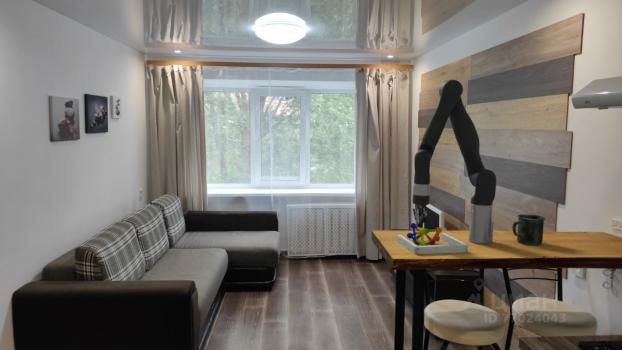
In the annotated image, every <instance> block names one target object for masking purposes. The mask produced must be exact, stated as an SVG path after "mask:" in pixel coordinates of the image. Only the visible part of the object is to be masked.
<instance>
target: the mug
mask: <svg viewBox="0 0 622 350" xmlns="http://www.w3.org/2000/svg"><path fill="white" fill-rule="evenodd" d="M517 218H518V220H517V221H514V223H513V224H512V227H511V228H512V233H513V234H514V236H516V239H517V243H519V244H522V245H528V246H540V244H541V245H542V244H543V240H544V239H543V238H544V224H545V223H544V222H545V220H546V217H545V216H542V215H536V214H527V213H525V214H523V213H522V214H518V215H517Z"/></svg>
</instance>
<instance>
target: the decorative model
mask: <svg viewBox="0 0 622 350" xmlns="http://www.w3.org/2000/svg"><path fill="white" fill-rule="evenodd" d="M410 228H411V229H412V232H407V233H406V237H407V238H408V240H409V239H410V240H411V239H412V243H414V244H416V243H418V244H419V245H418V246H426V244H430V245H436V242H439V241H440V240H441V236H440V234H442V233H443V232H442V231H443V229H442V227H440V226H439V227H436V228H434V229H428V228H427V227H425V228H424V227H423V228H420V227H418V226H417V223H415V222H412V223H410ZM417 229H418V230H419V231H417ZM431 232H432V233H433V232H435V233H434V236H433V238H432V237H430V236H429V235H428V234H429V233H431ZM424 237H426V238H427V240H426V241H424V240H425V239H424Z"/></svg>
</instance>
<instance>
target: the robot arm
mask: <svg viewBox="0 0 622 350" xmlns="http://www.w3.org/2000/svg"><path fill="white" fill-rule="evenodd" d="M438 93H439V97H440V98H439V102H438V104H437V107H436V110H435V111H434V114H433V115H432V117H431V118H430V120H429V122H428V125H427V127H426V128H425V131H424V134H423V136H422V140H421V143H420V145H419V148H418V150H417V152H416V153H415V154H414V160H413V163H414V165H413V166H414V175H413V179H414V180H413V187H412V204H414V206H415V208H412V213H413V216H414V221H416V226H418V227H420V228H424V224H425V223H426V222H427V221H428V218H429V216H430V213H428V212H427V206H428V205H430V203H431V202H430V200H431V198H430V197H431V173H430V170H431V169H430V167H431V161H432V158H433V156H434V152H435V150H436V146H437V145H438V144H439V141H440V139H441V136H442V134H443V132H444V129H445V126H446V124H447V123H448V119H449V122H450V125H451V128H452V132H453V134H454V135H453V136H454V138H455V140H456V143H457V146H458V147H459V150H460V153H461V155H462V157H463V161H464V163H465V167H466V171H467V176H468V180H469V182H470V184H471V185H472V186H473V187H474V189H475V190H474V195H473V196H472V197H470V209H469V211H470V213H469V229H468V231H469V232H468V241H469V242H471V243H474V244H480V245H481V244H482V245H485V244H487V245H488V244H491V243H493V240H494V239H493V238H494V221H493V207H494V205H493V204H494V201H495V197H496V190H497V176H496V174H495V172H494V171H493V170H491V169H487V168H485V165H484V164H483V161H482V158H481V153H480V147H481V146H480V145H481V144H480V137H479V134H478V131H477V128H476V126H475V124H474V122H473V120H472V118H471V116H470V115H469V113H468V112H467V110H466V108H465V106H464V103H463V99H462V95H463V93H464V87H463V85H462V83H461V82H460V81H459V80H457V79H447V80H445V81H443V82H442V83H441V84H440V85H439V88H438ZM417 231H419V230H418V229H416V232H417Z"/></svg>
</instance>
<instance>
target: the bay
mask: <svg viewBox="0 0 622 350" xmlns="http://www.w3.org/2000/svg"><path fill="white" fill-rule="evenodd" d="M396 241H397V243H398V244H400V245H402V246H403V247H404V248H406V249H407V250H408V251H410V252H412V253H413V254H414V255H429V254H431V255H432V254H434V255H435V254H455V253H456V254H457V253H458V254H459V253H468V252H469V245H468V244H466V243H465V242H462V241H460V240H459V239H457V238H455V237H453V236H451V235H450V234H447V233H445V232H444V233H443V232H441V241H443V242H445V243H447V244H438V245H437V244H433V245H432V244H430V245H425V246H420V245H417V244H416V243H415V242H413V241H411V240H409V238H408V239H407V238H406V237H405V236H403V235H402V234H397V236H396ZM448 243H449V244H448Z"/></svg>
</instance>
